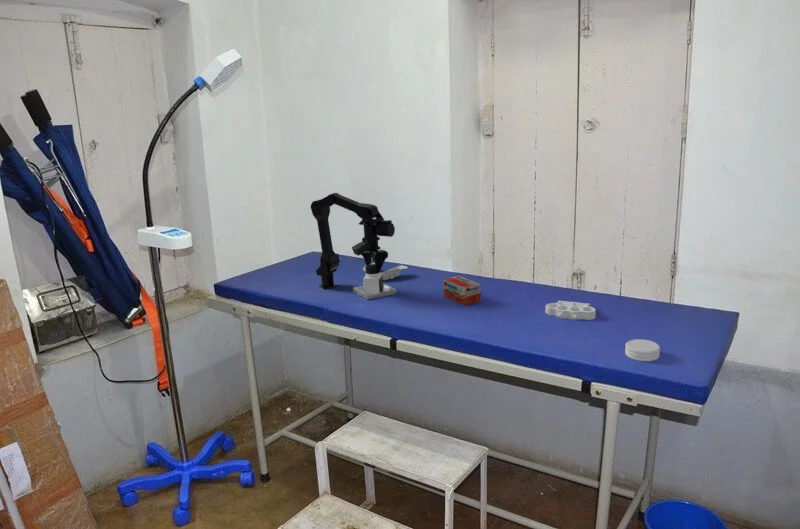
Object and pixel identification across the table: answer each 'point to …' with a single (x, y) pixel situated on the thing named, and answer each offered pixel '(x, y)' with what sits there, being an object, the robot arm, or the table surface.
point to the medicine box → (462, 290)
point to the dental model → (390, 272)
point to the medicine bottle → (372, 280)
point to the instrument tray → (385, 292)
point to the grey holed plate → (571, 310)
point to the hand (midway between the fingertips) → (373, 270)
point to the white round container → (642, 350)
